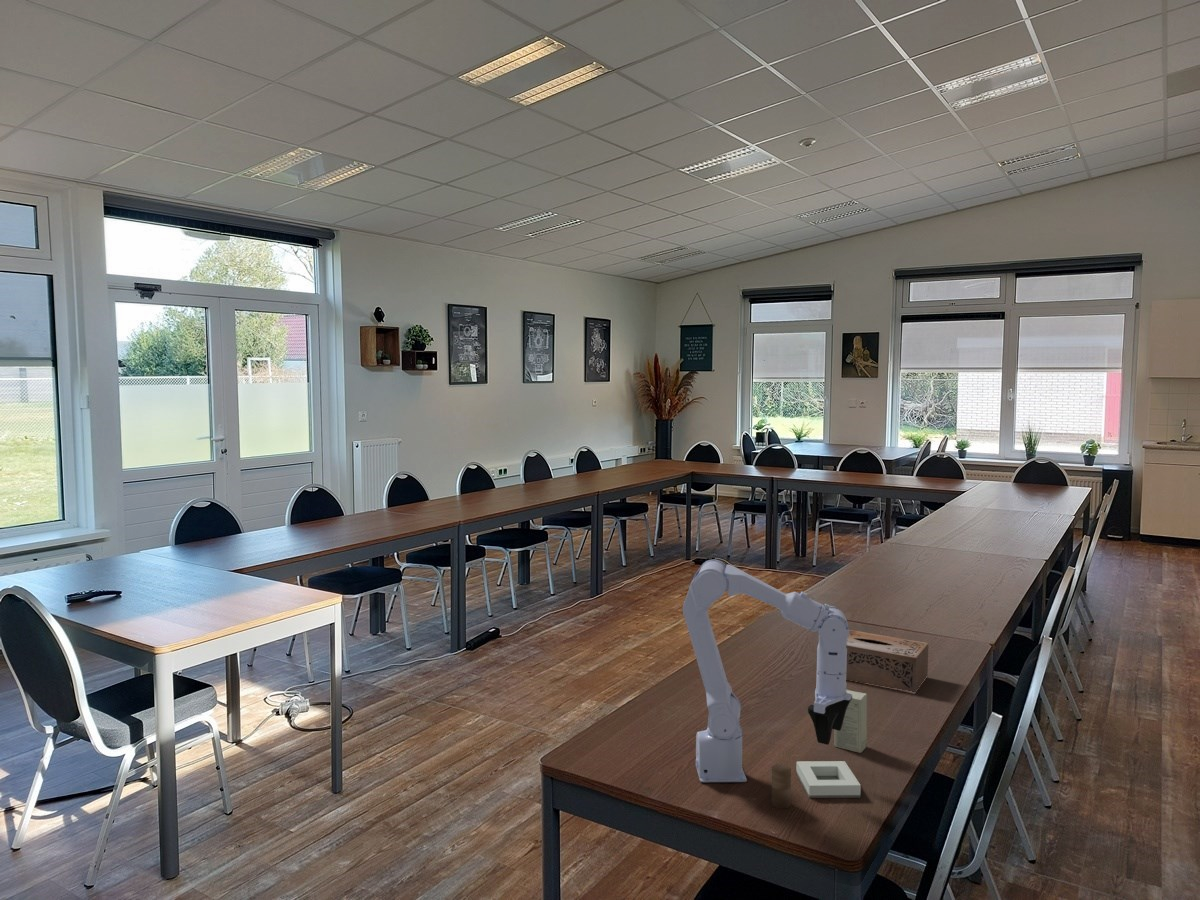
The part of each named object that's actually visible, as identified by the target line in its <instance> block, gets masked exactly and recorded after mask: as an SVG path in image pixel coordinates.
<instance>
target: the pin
mask: <svg viewBox="0 0 1200 900" xmlns="http://www.w3.org/2000/svg"><path fill="white" fill-rule="evenodd" d="M791 794H792V768H791V766H788V765H786V764H783V763H777V764H773V765H772V766H771V799H770V800H771V801H770V802H771V803H770V804H771V806H773V807H775V808H777V809H784V810H785V809H788V808H790V807H791V805H792V804H791V803H792V802H791V801H792V799H791V797H792V795H791Z"/></svg>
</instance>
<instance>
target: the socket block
mask: <svg viewBox="0 0 1200 900" xmlns="http://www.w3.org/2000/svg"><path fill="white" fill-rule="evenodd" d="M795 766H796V770H795V771H796V772H795V773H796V776H797V777H798V779H799V780H800V783H801V785H802V787H803V789H804V791H805V793H806V795H807V796H808V799H839V798H840V799H841V798H842V799H845V798H847V799H848V798H849V799H850V798H854V799H857V798H859V799H860V798H861V789H862V787H861V786H862V785H861V784H860V782H859V780H858V779H857V778H856V776H855V774H854V773H853V771H852V770H851V768H850V767H849V766H848V764H847V763H846V761H845V760H843V761H841V760H837V761H836V760H831V761H830V760H829V761H827V760H826V761H825V760H821V761H820V760H819V761H814V760H812V761H810V760H809V761H807V760H806V761H803V760H802V761H799V760H798V761H796V765H795Z"/></svg>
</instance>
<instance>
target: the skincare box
mask: <svg viewBox="0 0 1200 900" xmlns="http://www.w3.org/2000/svg"><path fill="white" fill-rule="evenodd" d="M846 692H847V693H849V694H852V700H851V701H850V703H849V705H848V707H847V710H846V713H845V716H844V720H843V724H842V728H841V730H840V731H839V730H834V729H833V730H834V731H833V732H834V733H833V737H834V738H833V739H834V740H833V741H834V745H833V747H836V748H839V749H843V750H848V751H851V752H855V753H859V754H861V753H862V752H863V751H864V750H865V749H866V748H867V746H868V694H867V693H865V692H860V691H855V690H851V689H846Z"/></svg>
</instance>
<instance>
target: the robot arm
mask: <svg viewBox="0 0 1200 900" xmlns="http://www.w3.org/2000/svg"><path fill="white" fill-rule="evenodd" d="M688 587H689V588H688V591H687V594H686V597H685V600H684V602H683V605H682V613H683V618H684V621H685V624H686V627H687V631H688V635H689V638H690V641H691V645H692V648H693V652H694V655H695V659H696V662H697V666H698V669H699V673H700V676H701V679H702V683H703V687H704V689H705V695H706V706H707V709H708V717H707V718H708V719H707V726H706V727H707V728H706V729H705V730H700V731H697V732H696V737H695V757H696V758H695V768H696V771H697V775H698V779H699V782H700V783H746V782H747V781H748V780H747V777H746V774H745V772H744V769H743V728H742V727H741V725H740V715H741V712H742V705H741V702H740V700H739V698H738V697H737V696H736V694H735V693H734V692H733V690H732V686H731V684H730V683H729V682H728V678H727V675H726V671H725V668H724V665H723V661H722V658H721V654H720V651H719V648H718V644H717V640H716V636H715V633H714V630H713V626H712V622H711V619H710V616H709V613H708V611H709V609H710V608H711V606H712V605H713V603H715V602H716V601H718V600H719V599H720V598H721V597H722V596H723V595H724V594H725V592H726V591H728V592H727V597H732V596H736V595H741V594H744V595H746V596H749V597H751V598H754V599H755V600H757V601H759V602H760V601H761V602H763V603H765V604H767V605H770V606H772V607H775V608H776V609H779V611H780V612H781V616H782V618H783V619H786V620H788V621H789V622H792V623H793V624H796V625H798V626H800V627H803V628H804V629H806V630H808V631H811V632H815V633H817V634H818V644H817V647H816V648H817V649H816V651H817V652H816V680H815V681H816V682H815V683H816V684H815V685H816V686H815V687H816V688H815V689H814V697H815V699H814V702H813V704H810V705H809V706H808V707H807V713H808V715H809V716H810V719H811V721H812V723H813V726H814V731H815V736H816V740H817V743H820V744H823V745H828V746H829V744H830V741H831V737H832V733H833V732H832V731H833V730H839V731H840V730H841V728H842V724H843V720H844V716H845V713H846V710H847V707H848V705H849V703H850V701H851V700H852V694H849V693H847V692H846V690H847V682H848V681H846V671H847V648H846V645H847V638H848V636H849V634H850V630H851V629H850V628H849V627H850V626H849V624H848V620H847V617H846V615H845V614H844V612H843V611H842V610H841V609H838V607H836V606H833V605H829V604H827V603H824V604H823V603H820V602H818V601H816V600H813V598H812V599H811V598H809V597H808V593H807V592H805V591H800V593H799V592H797V591H792V592H789V593H785V592H783V591H781V590H779V589H777V588H775V587H773V586H772V585H770V584H768V583H766V582H764V581H762V580H761V579H759V578H757V577H754V576H753V575H751V574H749V573H747V572H745V571H743V570H742V569H739V568H738V567H736V566H734V565H732V564H725V563H724V562H723V561H721V560H718V559H708V560H706V561H705V562H703V563H702V564H701V565H700V567H699V568H698V570H697V571H696V572H695V573H694V576H693V578H692V580H691V582H690V584H689V586H688Z"/></svg>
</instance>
